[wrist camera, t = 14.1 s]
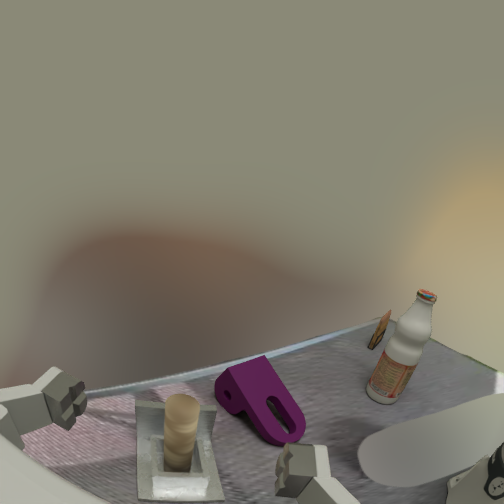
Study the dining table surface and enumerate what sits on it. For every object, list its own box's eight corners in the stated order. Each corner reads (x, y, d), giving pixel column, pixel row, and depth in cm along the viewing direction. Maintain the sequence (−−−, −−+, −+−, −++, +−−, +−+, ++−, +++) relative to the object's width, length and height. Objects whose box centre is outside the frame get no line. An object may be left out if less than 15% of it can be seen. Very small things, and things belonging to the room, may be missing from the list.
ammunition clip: (377, 338, 92) (389, 307, 89) (381, 340, 91) (393, 309, 88) (367, 347, 84) (380, 315, 81) (372, 350, 83) (386, 317, 80)
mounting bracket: (288, 440, 50) (244, 373, 59) (313, 428, 45) (264, 355, 55) (255, 461, 43) (209, 385, 52) (280, 451, 39) (227, 367, 48)
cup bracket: (208, 438, 41) (215, 405, 39) (224, 501, 28) (234, 475, 26) (137, 434, 37) (135, 400, 35) (138, 500, 25) (133, 474, 23)
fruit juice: (367, 402, 57) (416, 295, 50) (363, 380, 66) (404, 282, 59) (400, 407, 55) (452, 304, 48) (393, 385, 64) (437, 291, 57)
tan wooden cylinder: (188, 458, 34) (197, 394, 31) (192, 478, 31) (202, 417, 27) (162, 458, 33) (164, 392, 30) (164, 478, 29) (166, 416, 26)
